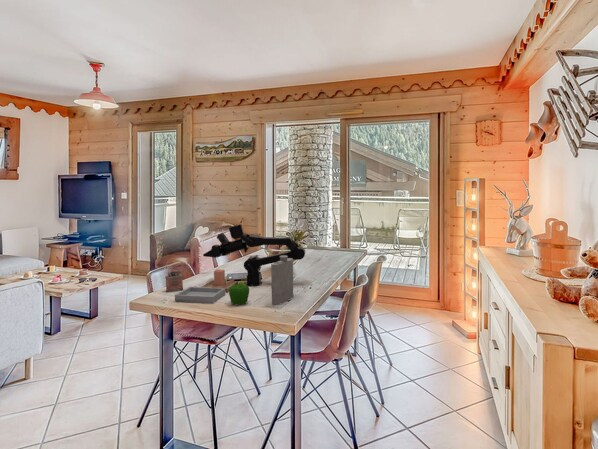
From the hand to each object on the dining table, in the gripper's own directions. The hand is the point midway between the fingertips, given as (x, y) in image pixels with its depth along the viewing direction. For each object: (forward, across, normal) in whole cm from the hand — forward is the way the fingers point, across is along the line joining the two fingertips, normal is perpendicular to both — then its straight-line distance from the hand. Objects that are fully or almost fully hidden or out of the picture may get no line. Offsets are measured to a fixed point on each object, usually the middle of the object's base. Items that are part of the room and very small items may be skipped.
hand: (206, 254), depth 188 cm
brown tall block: (-4, +6, +18) cm, 20 cm away
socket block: (-4, +6, +18) cm, 20 cm away
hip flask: (-37, +23, +30) cm, 53 cm away
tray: (0, +23, +19) cm, 30 cm away
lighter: (+16, +12, +13) cm, 24 cm away
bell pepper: (-19, +29, +26) cm, 43 cm away
